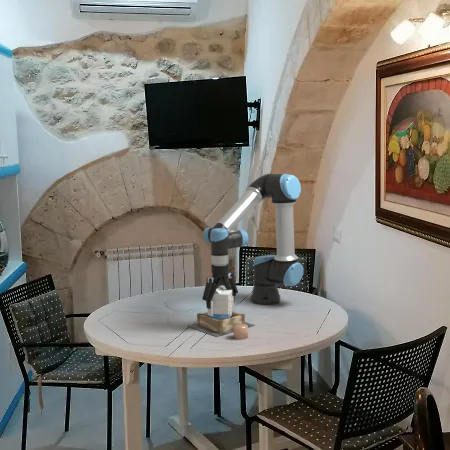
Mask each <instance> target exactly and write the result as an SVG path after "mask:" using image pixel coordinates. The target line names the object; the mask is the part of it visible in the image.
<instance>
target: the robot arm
mask: <svg viewBox="0 0 450 450" xmlns="http://www.w3.org/2000/svg"><path fill="white" fill-rule="evenodd" d="M301 192H302V187H301V181H300V180H299V179H298V178H297V176H295V175H292V174H289V173H266V174H265V173H264V174H262V175H261V176H260V177H258V178H256V179H255V180H254V181H253V182H251V183H250V184H249V185H248V186H247V187H246V188H245V193H244V194H243V195H241V196H240V198H238V200H237V201H236V202H234V204H233V205H232V206H231V207H230V208H229V210H227V212H226V213H225V214H224V215H223V216H222V217H221V218H220V219H219V220H218V221H217V222H216V223H215V224H214V226H210V227H209V226H208V227H205V229H204V230H203V232H202V239H203V241H204V242H205V243H206V244H209V245H210V260H211V261H210V263H211V265H210V268H211V274H212V276H211V277H206V283H205V287H204V289H203V290H204V291H203V294H202V297H201V298H202V300H203V301H204V302H206V304H205V306H206V307H205V308H206V309H207V312H208V315H209V316H213V301H211V300H212V298H213V296H214V293H215V291H216V289H217V288H218V287H219V286H221V287H222V286H224V289H228V290H232V312H234V311H235V308H234V307H235V299H236V298H235V297H236V296H237V294H238V293H239V289H238V287H237V284H236V282H235V279H234V275H235V274H234V273H232V272H229V269H230V267H229V250H231V249H237V248H242V247H245V246H246V245H248V242H249V233H248V232H247V230H244V229H235V228H236V227H237V225H239V223H240V222H242V220H243V219H244V218H245V217H246V216H247V215H248V214H249V213H250V211H251V210H252V209H253V208H254V207H255V206H256V205H257V204H260V203H261V202H262V201H263V200H265V199H268V198H270V199H271V204H272V205H273V206H274V207H275V208H274V211H275V235H276V236H275V237H276V238H275V239H276V255H275V254H267V255H260V256H256V257H255V258H254V259H253V265H252V266H253V267H252V268H253V287H252V291H251V294H250V303H253V304H257V305H274V304H279V303H280V302H281V295H280V292H279V288H278V285H279V284H280V285H284V286H285V287H286V286H287V287H288V286H290V287H294V286H297V285H298V284H299V283H300V282H301V280H302V278H303V276H304V266H303V265H302V263H300V262H299V257H298V255H296V253H295V252H296V251H295V225H294V224H295V222H294V219H295V218H294V205H295V204H296V203H297V199H298V198H299V197H300V196H301V195H300V194H301Z"/></svg>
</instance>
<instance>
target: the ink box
mask: <svg viewBox="0 0 450 450" xmlns="http://www.w3.org/2000/svg"><path fill="white" fill-rule="evenodd" d="M211 301H213V316H210V318H213V319H216V320H225V319H228V318H230V317H231V315H232V312H233V311H232V290H228V289H226V288H223V287H222V285H221V286H219V287H218V288H217V289H216V291H215V293H214V296H213V298H212V300H211Z"/></svg>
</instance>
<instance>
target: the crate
mask: <svg viewBox="0 0 450 450" xmlns="http://www.w3.org/2000/svg"><path fill="white" fill-rule="evenodd" d="M245 314H246V313H239V312H235V311H232V315H231V317H230V318H228V319H225V320H216V319H213V318H210V316H209V315H208V311H206V312H199V313H197V314H196V321H197V322H196V323H192V324H189V325H187V326H186V327H187V328H190V329H193V330H196V331H199V332H202V333H204V334H208V335H210V336H213V337H216V338H219V337H222V336H225V335H229V334H233V325H235V324H247V325H248V329H249V328H252V327H255V326H256V325H255V324H253V323H250V322H248V321H246V315H245Z"/></svg>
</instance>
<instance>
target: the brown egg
mask: <svg viewBox="0 0 450 450" xmlns="http://www.w3.org/2000/svg"><path fill="white" fill-rule="evenodd" d="M232 334H233V339H235V340H246V339H249V328H248V325H247V324H235V325H233V332H232Z"/></svg>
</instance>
